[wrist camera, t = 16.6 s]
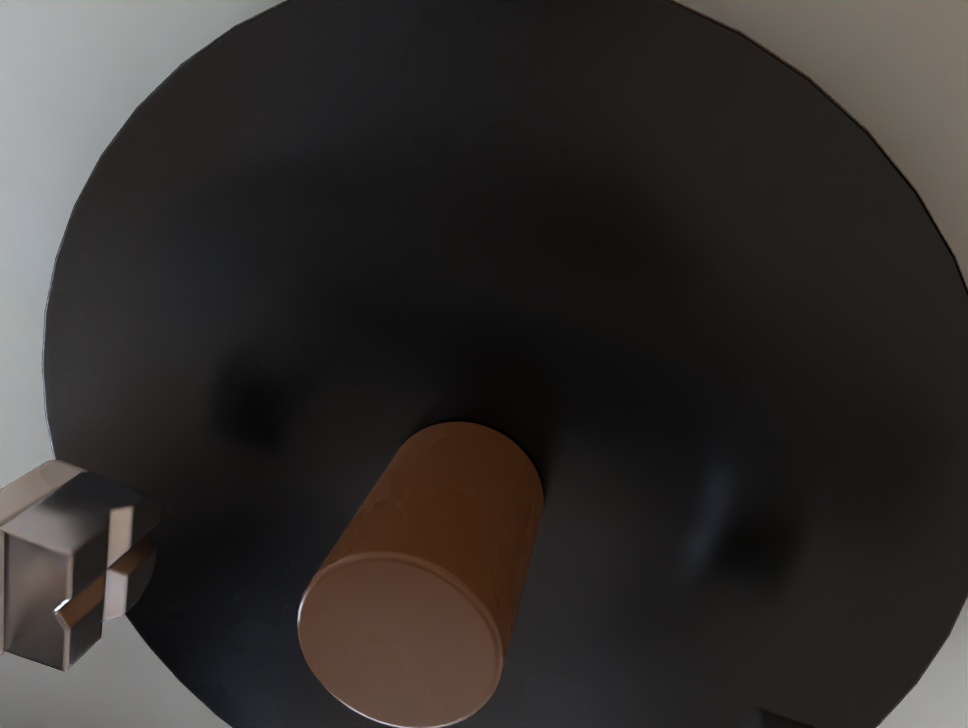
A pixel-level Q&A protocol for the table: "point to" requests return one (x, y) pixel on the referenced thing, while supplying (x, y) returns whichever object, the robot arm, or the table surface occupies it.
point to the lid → (518, 374)
